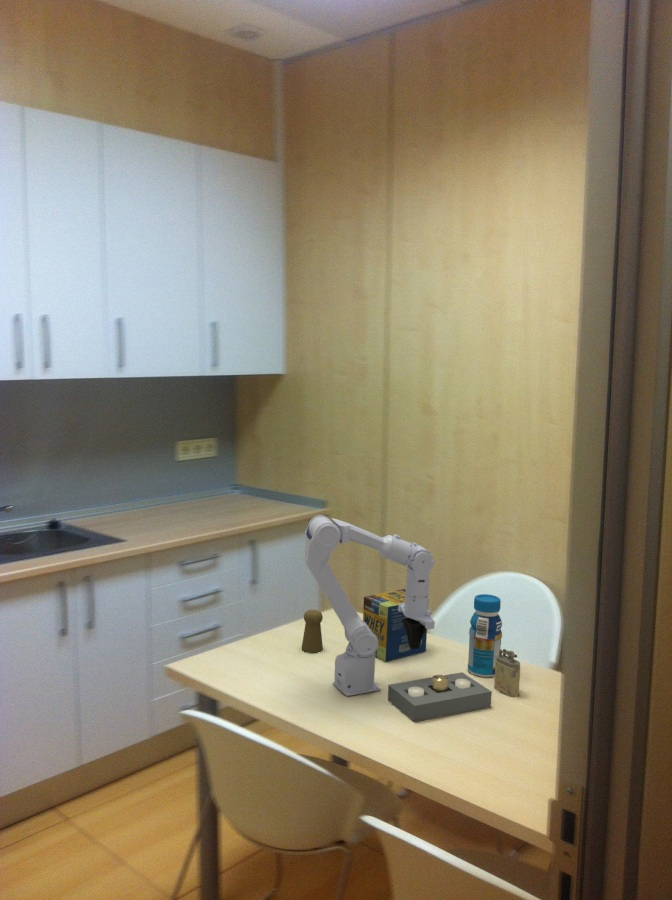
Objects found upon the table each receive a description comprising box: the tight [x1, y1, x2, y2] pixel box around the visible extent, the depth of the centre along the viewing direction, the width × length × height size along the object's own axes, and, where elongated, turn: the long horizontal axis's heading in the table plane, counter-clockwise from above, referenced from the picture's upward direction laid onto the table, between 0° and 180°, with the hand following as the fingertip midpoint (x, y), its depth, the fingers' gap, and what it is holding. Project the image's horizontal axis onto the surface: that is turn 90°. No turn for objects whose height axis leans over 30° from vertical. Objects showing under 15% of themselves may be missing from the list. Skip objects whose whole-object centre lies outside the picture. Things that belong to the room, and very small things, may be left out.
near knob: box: [408, 687, 425, 698], centre depth 176 cm, size 4×4×4 cm
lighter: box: [493, 648, 521, 697], centre depth 187 cm, size 7×4×10 cm, turn 33°
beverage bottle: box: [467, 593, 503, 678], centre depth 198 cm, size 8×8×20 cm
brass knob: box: [432, 674, 448, 693], centre depth 178 cm, size 4×4×4 cm
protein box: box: [362, 588, 430, 663], centre depth 210 cm, size 10×15×16 cm
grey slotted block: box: [387, 672, 493, 723], centre depth 179 cm, size 21×12×4 cm, turn 115°
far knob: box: [455, 679, 471, 689], centre depth 181 cm, size 4×4×4 cm
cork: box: [301, 609, 324, 654], centre depth 210 cm, size 6×6×11 cm
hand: (414, 647), depth 189 cm, fingers closed
